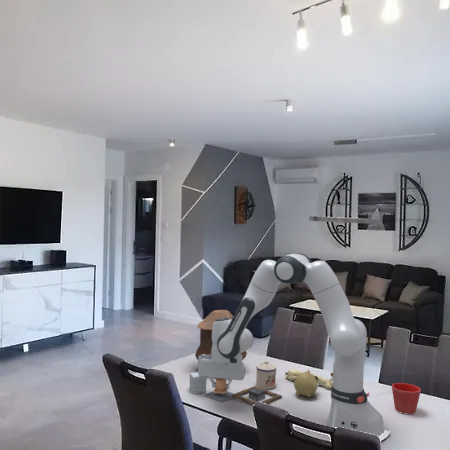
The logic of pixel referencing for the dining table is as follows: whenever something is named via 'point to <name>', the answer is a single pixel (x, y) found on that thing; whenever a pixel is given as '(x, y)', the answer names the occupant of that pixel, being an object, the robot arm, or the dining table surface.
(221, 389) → the tan domed square base
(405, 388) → the flower pot
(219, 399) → the pad
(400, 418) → the dining table surface
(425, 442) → the dining table surface
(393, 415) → the dining table surface
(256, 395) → the grey square block
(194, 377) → the product box
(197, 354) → the pottery vessel
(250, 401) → the frame
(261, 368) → the teacup with lid
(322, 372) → the dining table surface
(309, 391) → the toy pig
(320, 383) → the cat figure
